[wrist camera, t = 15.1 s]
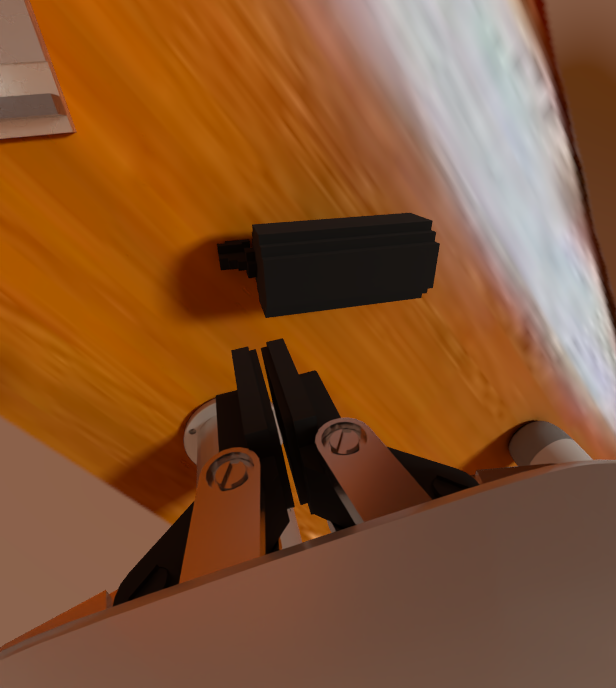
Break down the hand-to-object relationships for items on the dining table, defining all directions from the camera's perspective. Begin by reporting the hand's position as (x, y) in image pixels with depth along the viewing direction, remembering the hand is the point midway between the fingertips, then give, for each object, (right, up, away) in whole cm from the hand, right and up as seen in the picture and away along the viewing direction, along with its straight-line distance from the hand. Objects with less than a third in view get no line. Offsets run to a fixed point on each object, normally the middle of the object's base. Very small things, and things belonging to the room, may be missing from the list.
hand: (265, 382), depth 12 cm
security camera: (+2, +11, +26) cm, 28 cm away
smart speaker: (+40, -15, +52) cm, 67 cm away
